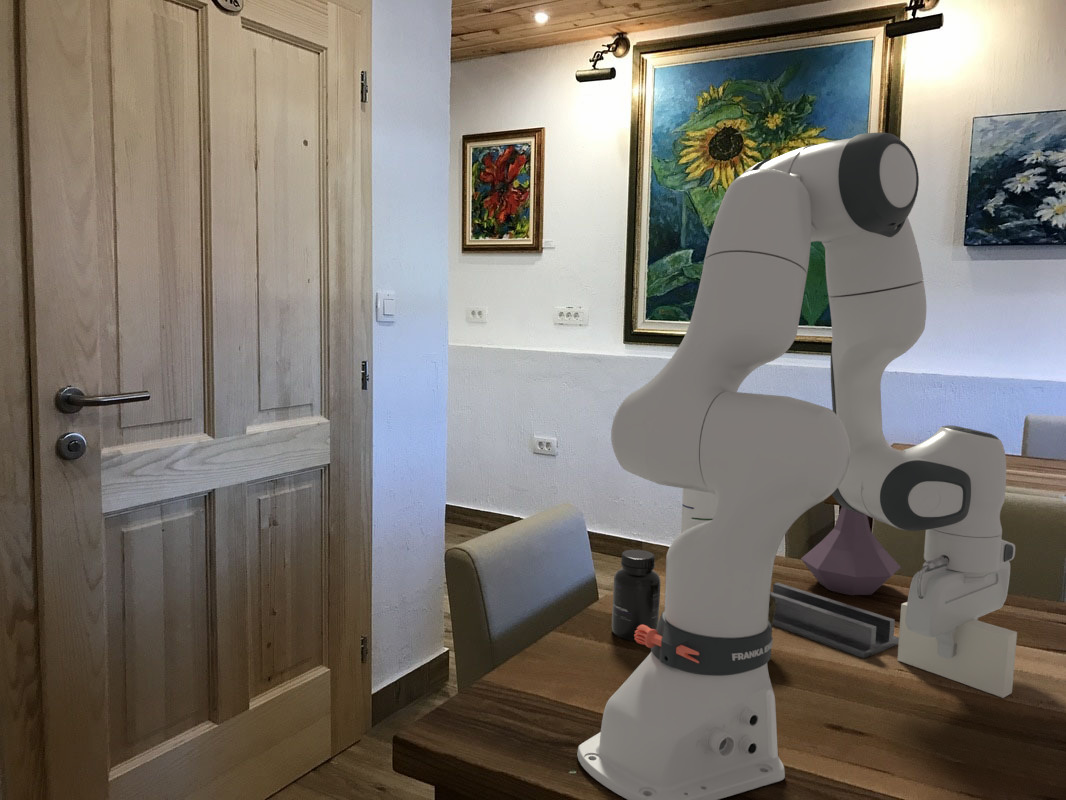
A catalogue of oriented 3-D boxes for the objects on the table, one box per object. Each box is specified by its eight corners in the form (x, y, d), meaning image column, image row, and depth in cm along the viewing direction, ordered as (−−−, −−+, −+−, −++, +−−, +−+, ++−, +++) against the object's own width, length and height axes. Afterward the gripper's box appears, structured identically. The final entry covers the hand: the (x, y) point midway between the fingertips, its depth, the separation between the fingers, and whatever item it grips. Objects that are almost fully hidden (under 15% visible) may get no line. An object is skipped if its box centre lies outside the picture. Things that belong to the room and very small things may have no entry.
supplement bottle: (606, 638, 124) (609, 557, 123) (617, 622, 131) (619, 545, 129) (653, 645, 122) (656, 562, 121) (662, 628, 128) (665, 550, 127)
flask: (891, 577, 156) (899, 468, 153) (907, 607, 140) (915, 486, 138) (797, 568, 160) (803, 462, 157) (802, 597, 144) (808, 479, 142)
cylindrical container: (696, 564, 161) (702, 432, 158) (727, 574, 155) (733, 437, 153) (671, 571, 156) (676, 435, 153) (702, 582, 151) (708, 441, 148)
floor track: (898, 644, 124) (900, 617, 124) (863, 658, 119) (865, 630, 118) (782, 604, 140) (783, 580, 139) (747, 615, 134) (748, 591, 134)
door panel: (1011, 692, 109) (1017, 632, 108) (1003, 697, 107) (1008, 636, 106) (906, 656, 120) (910, 600, 119) (897, 660, 118) (901, 604, 117)
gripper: (945, 570, 103) (937, 681, 104) (1021, 544, 115) (1013, 643, 117) (896, 557, 108) (888, 663, 109) (974, 534, 120) (966, 629, 122)
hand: (953, 652), depth 113 cm, fingers closed on door panel, 2 cm apart
